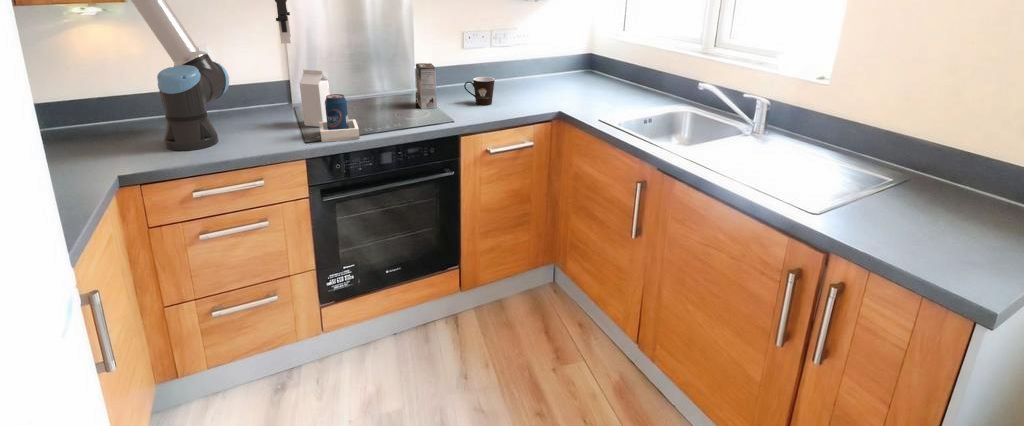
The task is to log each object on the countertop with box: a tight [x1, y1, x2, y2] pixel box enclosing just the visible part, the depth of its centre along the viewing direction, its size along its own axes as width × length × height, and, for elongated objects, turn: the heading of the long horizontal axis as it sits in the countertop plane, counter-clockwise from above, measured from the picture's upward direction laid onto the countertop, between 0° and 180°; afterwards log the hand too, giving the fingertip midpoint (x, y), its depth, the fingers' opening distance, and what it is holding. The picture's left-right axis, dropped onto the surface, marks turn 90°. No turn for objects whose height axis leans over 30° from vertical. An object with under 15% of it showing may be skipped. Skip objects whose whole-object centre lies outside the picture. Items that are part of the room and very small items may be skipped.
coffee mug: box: [463, 76, 495, 107], centre depth 244 cm, size 12×9×10 cm
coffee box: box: [415, 62, 438, 110], centre depth 237 cm, size 9×6×16 cm
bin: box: [319, 119, 360, 143], centre depth 201 cm, size 12×12×4 cm
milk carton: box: [298, 69, 331, 128], centre depth 210 cm, size 7×7×19 cm
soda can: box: [325, 93, 349, 130], centre depth 200 cm, size 7×7×12 cm
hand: (286, 40), depth 190 cm, fingers open, 13 cm apart
